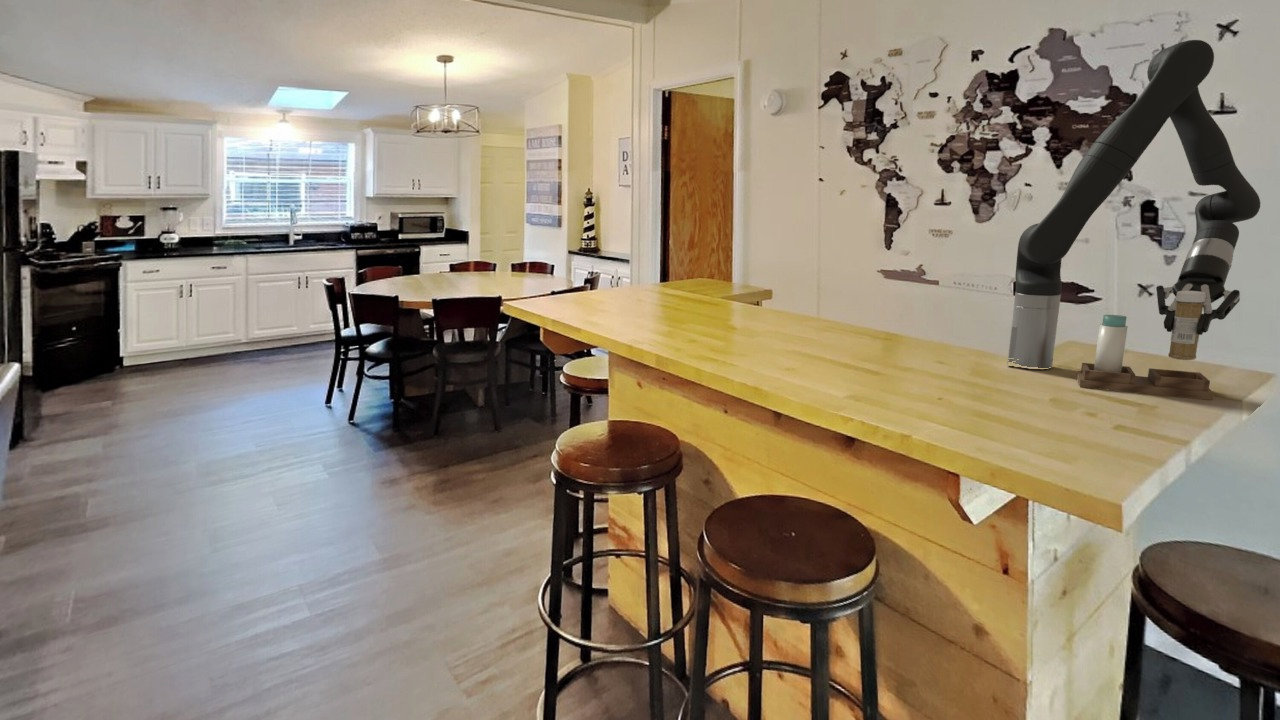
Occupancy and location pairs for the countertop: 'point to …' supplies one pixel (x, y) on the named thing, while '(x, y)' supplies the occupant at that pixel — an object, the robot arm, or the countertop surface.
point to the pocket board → (1147, 382)
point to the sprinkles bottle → (1186, 324)
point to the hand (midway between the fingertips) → (1184, 330)
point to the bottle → (1111, 344)
